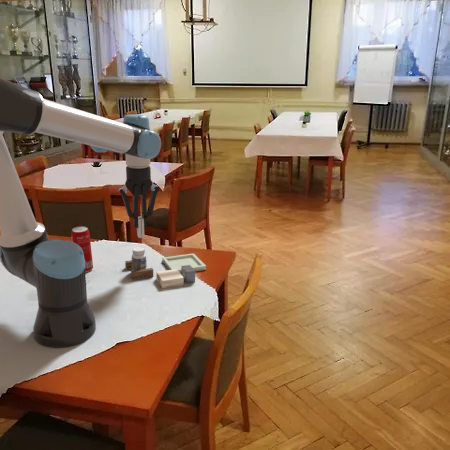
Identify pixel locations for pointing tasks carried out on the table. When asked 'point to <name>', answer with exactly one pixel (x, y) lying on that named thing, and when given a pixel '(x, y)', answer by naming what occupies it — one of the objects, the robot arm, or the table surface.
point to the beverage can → (83, 244)
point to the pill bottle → (138, 259)
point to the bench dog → (188, 273)
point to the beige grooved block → (169, 278)
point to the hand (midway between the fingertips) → (140, 236)
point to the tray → (184, 262)
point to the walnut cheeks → (139, 271)
